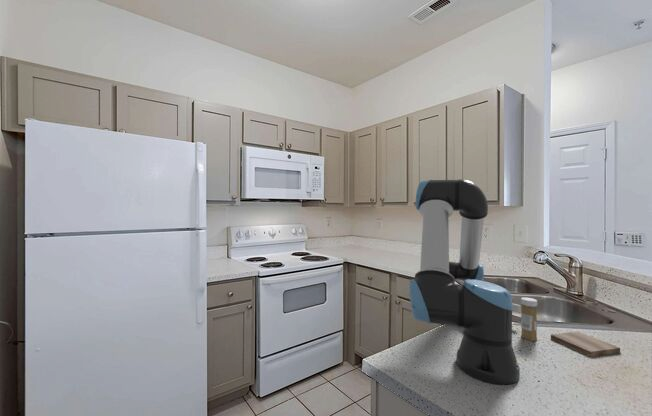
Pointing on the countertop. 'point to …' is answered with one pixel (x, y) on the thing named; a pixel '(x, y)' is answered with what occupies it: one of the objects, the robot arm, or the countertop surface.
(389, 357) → the countertop surface
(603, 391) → the countertop surface
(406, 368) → the countertop surface
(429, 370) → the countertop surface
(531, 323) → the sprinkles bottle
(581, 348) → the walnut board
